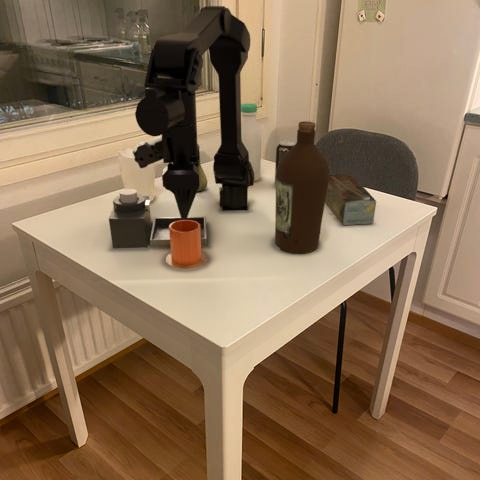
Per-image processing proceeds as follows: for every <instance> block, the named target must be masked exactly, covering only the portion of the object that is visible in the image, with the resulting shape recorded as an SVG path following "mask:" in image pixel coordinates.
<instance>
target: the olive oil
mask: <svg viewBox="0 0 480 480" xmlns="http://www.w3.org/2000/svg"><path fill="white" fill-rule="evenodd" d="M315 129H316V123H315V122H313V121H309V120H308V121H307V120H303V121H299V122H298V129H297V131H296V144H295V145H294V146H293V147H292V148H291V149H290V150H289V151H288V152H287V153H286V154H285V155H284V156H283V157H282V159H281V160H280V162H279V164H278V167H277V170H276V185H275V219H274V221H275V223H274V224H275V225H274V227H275V229H274V244H275V246H276V247H277V248H279V250H281V251H283V252H286V253H290V254H300V255H301V254H308V253H312V252H314V251H315V250H317V249H318V248H319V243H320V238H321V237H320V236H321V231H322V223H323V217H324V210H325V205H326V201H325V200H326V194H327V188H328V183H329V175H330V166H329V164H328V161H327V159H326V158H325V156H324V155H323V154H322V153H321V151H320V150H319V149H318V147H317V146H316V143H315V137H316V130H315Z"/></svg>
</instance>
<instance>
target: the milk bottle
mask: <svg viewBox="0 0 480 480" xmlns="http://www.w3.org/2000/svg"><path fill="white" fill-rule="evenodd" d="M257 111H258V105H257V104H255V103H250V102H249V103H247V102H246V103H241V139H242V142H243V144H244V146H245V147H246V149H247V150H248V153H249V162H250V163H251V166H252V168H253V171H254V182H257V181H259V180H260V178H261V170H262V169H261V165H262V134H261V130H260V127H259V124H258V121H257V114H258V113H257Z"/></svg>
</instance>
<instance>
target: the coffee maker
mask: <svg viewBox="0 0 480 480" xmlns="http://www.w3.org/2000/svg"><path fill="white" fill-rule="evenodd" d="M137 198H138V201H137V202H134V203H122V202H120V195H117V196H116V197H114V198H113V200H112V204H113V205H112V206H113V207H112V210H111V212H110V215H109V217H108V223H109V224H108V225H109V230H110V231H109V232H110V236H111V243H112V244H111V245H112V249H147V248H148V242H149V239H150V234H151V229H152V214H151V213H152V212H151V210H150V211H149V212H148V211H147V209H145V203H146V200H149V196H141V195H137Z"/></svg>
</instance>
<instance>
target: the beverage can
mask: <svg viewBox="0 0 480 480" xmlns="http://www.w3.org/2000/svg"><path fill="white" fill-rule="evenodd" d="M296 143H297V141H294V140H288V139H287V140H286V139H284V140H280V141H279V142H278V145H277V146H276V149H275V153H276V154H275V167H274V169H275V170H274V185H275V186H276V170H277V167H278V164H279V162H280V160H281V159H282V157H283V156H284V155H285V154H286V153H287V152H288V151H289V150H290V149H291V148H292V147H293V146H294V145H295V144H296Z"/></svg>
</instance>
